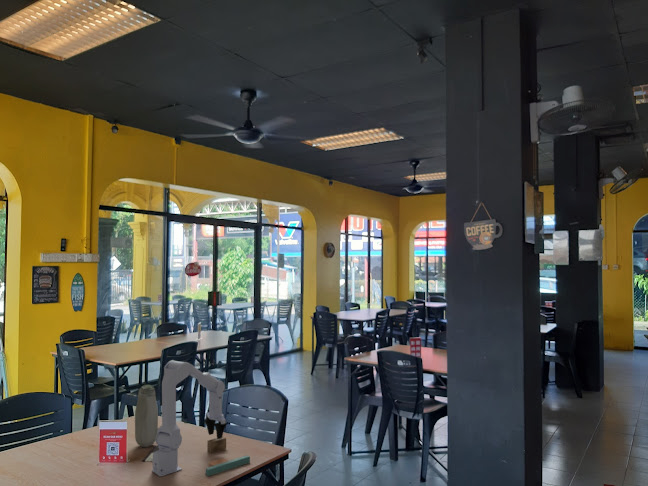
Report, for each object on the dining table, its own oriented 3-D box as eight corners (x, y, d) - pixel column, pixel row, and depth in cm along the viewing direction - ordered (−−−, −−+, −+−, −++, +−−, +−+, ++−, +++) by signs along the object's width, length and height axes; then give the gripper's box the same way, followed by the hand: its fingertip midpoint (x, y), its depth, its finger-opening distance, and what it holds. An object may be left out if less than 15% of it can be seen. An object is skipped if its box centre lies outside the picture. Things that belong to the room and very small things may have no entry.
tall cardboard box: (210, 453, 222) (210, 442, 222) (207, 451, 224) (207, 440, 224) (226, 449, 227) (226, 438, 227) (222, 447, 229) (222, 436, 230)
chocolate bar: (174, 445, 231) (163, 460, 213) (174, 447, 231) (163, 462, 213) (155, 445, 230) (142, 460, 212) (155, 447, 230) (141, 462, 212)
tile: (217, 472, 202) (217, 467, 202) (208, 467, 207) (208, 462, 208) (231, 467, 207) (231, 462, 207) (222, 462, 212) (222, 457, 212)
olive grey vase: (158, 447, 229) (158, 386, 230) (134, 450, 225) (135, 388, 227) (157, 440, 238) (157, 382, 240) (134, 443, 234) (135, 384, 236)
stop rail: (208, 476, 197) (208, 469, 197) (205, 474, 199) (205, 468, 199) (249, 462, 211) (249, 456, 211) (247, 461, 212) (247, 455, 212)
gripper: (231, 407, 224) (231, 438, 224) (215, 401, 235) (214, 430, 234) (217, 410, 220) (217, 441, 219) (201, 404, 230) (201, 434, 230)
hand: (215, 436), depth 226 cm, fingers open, 7 cm apart
